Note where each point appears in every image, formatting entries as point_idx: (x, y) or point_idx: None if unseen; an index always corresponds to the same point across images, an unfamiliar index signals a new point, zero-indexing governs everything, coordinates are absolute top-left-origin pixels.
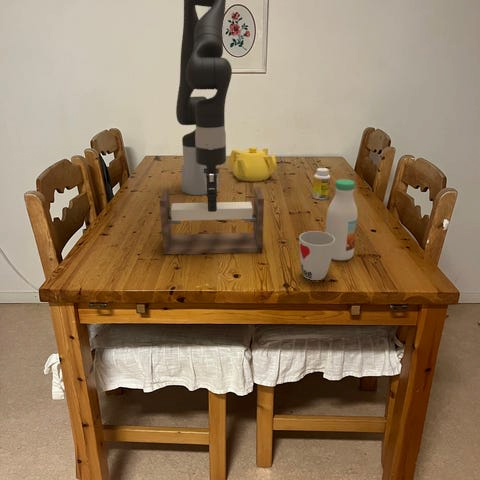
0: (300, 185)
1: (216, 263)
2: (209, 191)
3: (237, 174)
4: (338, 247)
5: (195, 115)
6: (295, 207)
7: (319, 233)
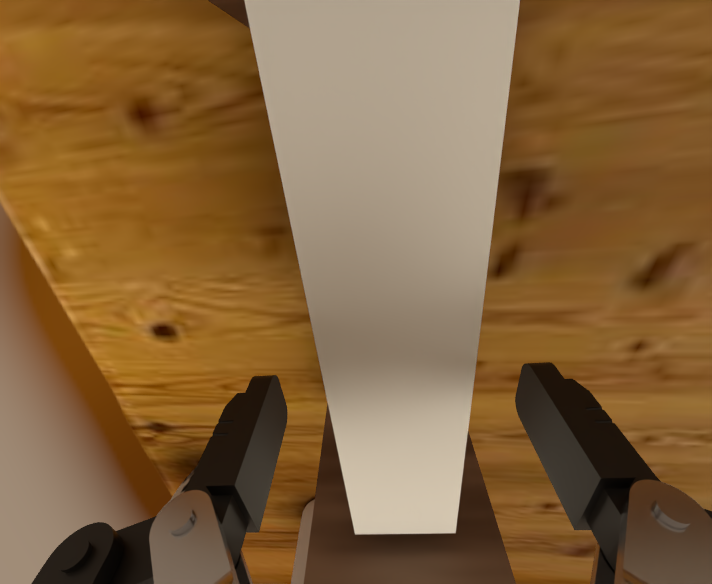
0: None
1: (230, 272)
2: (563, 440)
3: None
4: (297, 545)
5: None
6: (678, 479)
7: None
